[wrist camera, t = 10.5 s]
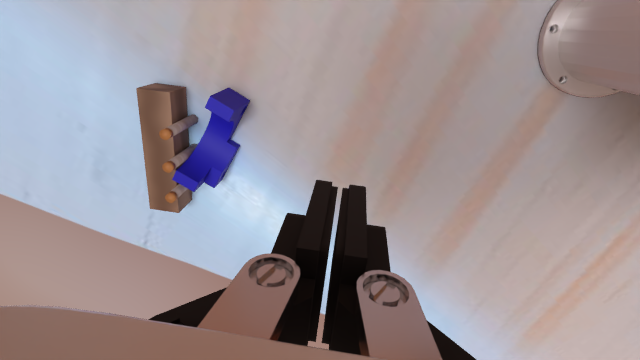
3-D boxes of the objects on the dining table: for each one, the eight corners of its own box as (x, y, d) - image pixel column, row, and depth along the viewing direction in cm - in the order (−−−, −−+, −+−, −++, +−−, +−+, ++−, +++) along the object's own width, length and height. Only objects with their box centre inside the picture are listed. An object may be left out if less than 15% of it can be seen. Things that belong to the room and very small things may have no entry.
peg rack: (196, 88, 43) (166, 99, 37) (201, 200, 50) (176, 227, 43) (155, 83, 44) (118, 93, 37) (165, 195, 50) (135, 221, 44)
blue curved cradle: (222, 179, 48) (204, 198, 43) (193, 162, 48) (172, 179, 42) (260, 106, 44) (246, 118, 38) (229, 87, 43) (210, 96, 38)
